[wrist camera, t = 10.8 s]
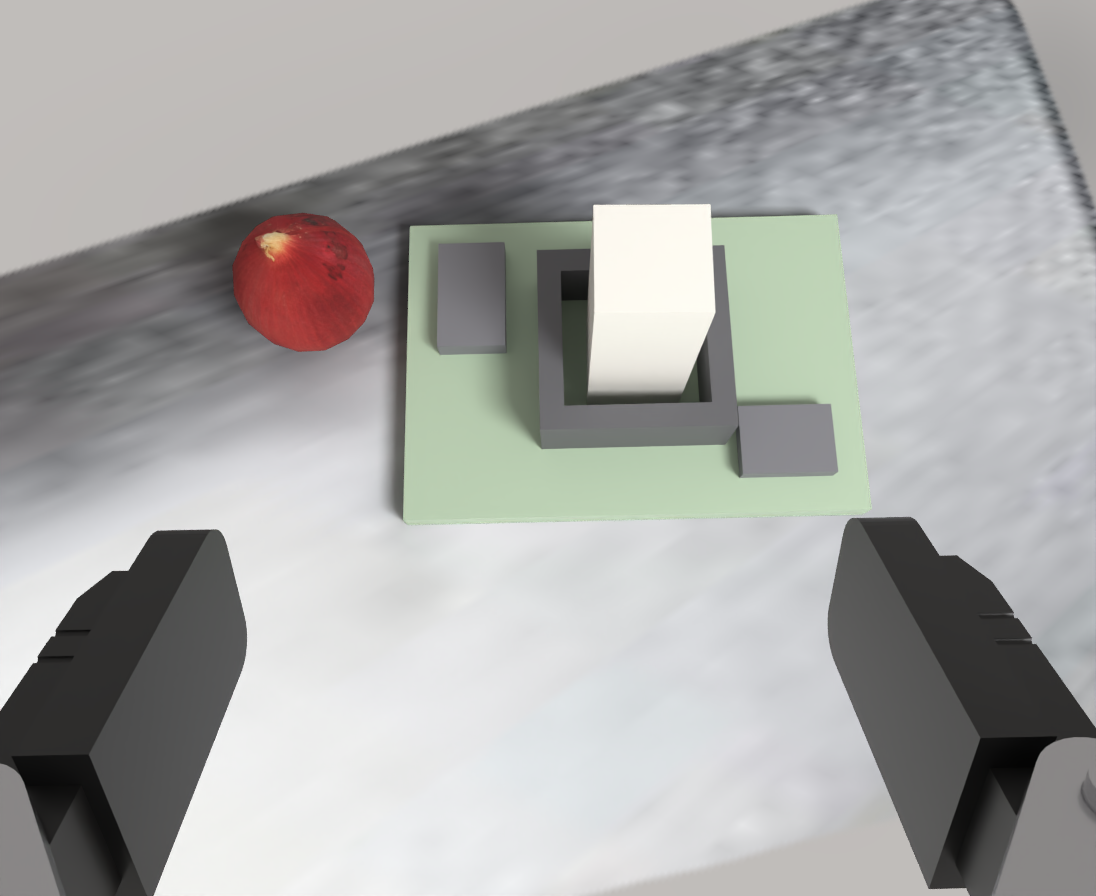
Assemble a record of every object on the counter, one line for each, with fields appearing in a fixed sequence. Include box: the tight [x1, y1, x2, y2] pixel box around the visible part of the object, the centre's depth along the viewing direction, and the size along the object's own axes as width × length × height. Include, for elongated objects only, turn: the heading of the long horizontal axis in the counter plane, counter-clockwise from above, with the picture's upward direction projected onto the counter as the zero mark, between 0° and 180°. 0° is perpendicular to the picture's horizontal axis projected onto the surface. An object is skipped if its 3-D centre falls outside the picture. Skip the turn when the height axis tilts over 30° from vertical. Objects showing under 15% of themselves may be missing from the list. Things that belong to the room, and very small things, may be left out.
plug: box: [586, 204, 715, 405], centre depth 34 cm, size 4×5×10 cm
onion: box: [233, 213, 374, 352], centre depth 37 cm, size 6×6×8 cm
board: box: [403, 215, 872, 525], centre depth 38 cm, size 20×14×4 cm
